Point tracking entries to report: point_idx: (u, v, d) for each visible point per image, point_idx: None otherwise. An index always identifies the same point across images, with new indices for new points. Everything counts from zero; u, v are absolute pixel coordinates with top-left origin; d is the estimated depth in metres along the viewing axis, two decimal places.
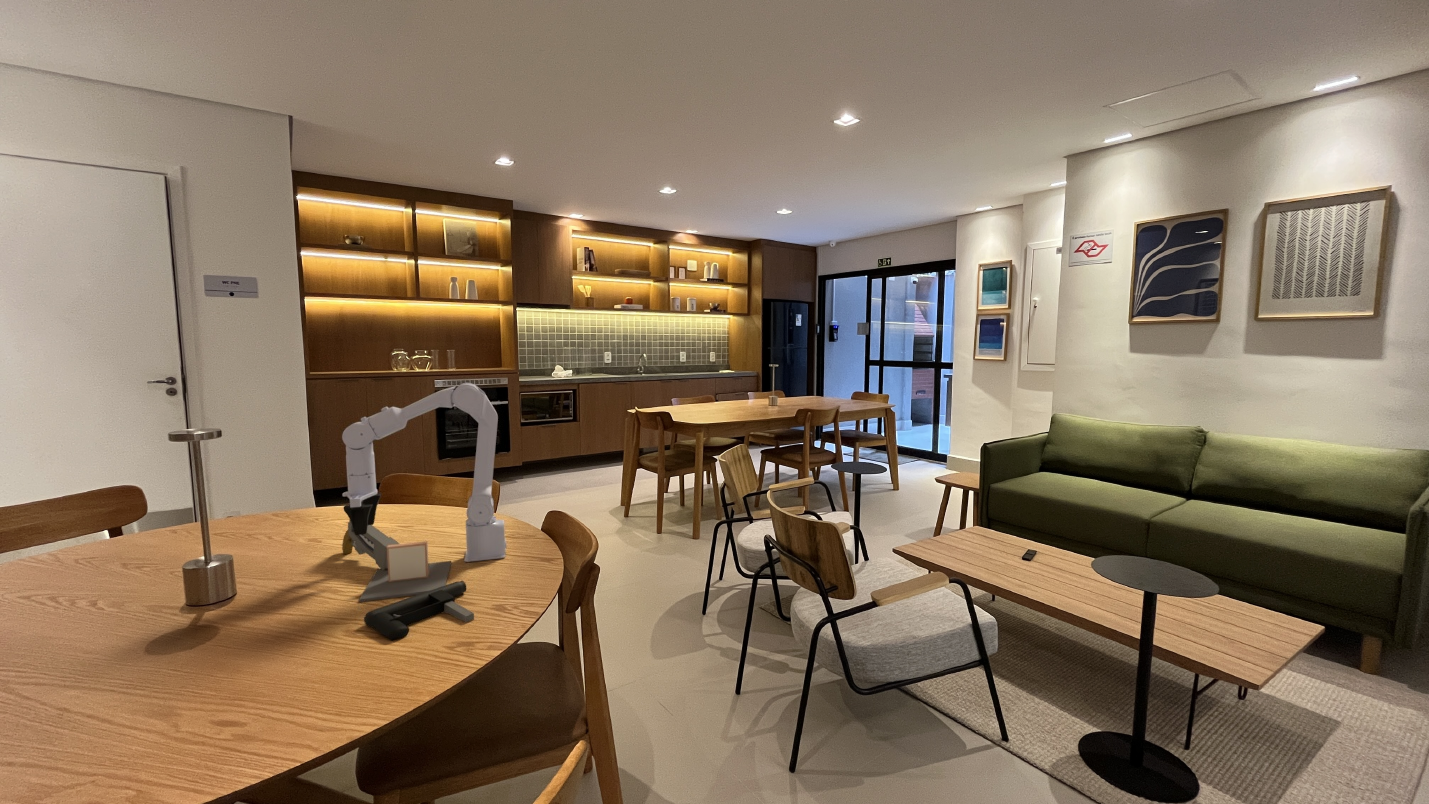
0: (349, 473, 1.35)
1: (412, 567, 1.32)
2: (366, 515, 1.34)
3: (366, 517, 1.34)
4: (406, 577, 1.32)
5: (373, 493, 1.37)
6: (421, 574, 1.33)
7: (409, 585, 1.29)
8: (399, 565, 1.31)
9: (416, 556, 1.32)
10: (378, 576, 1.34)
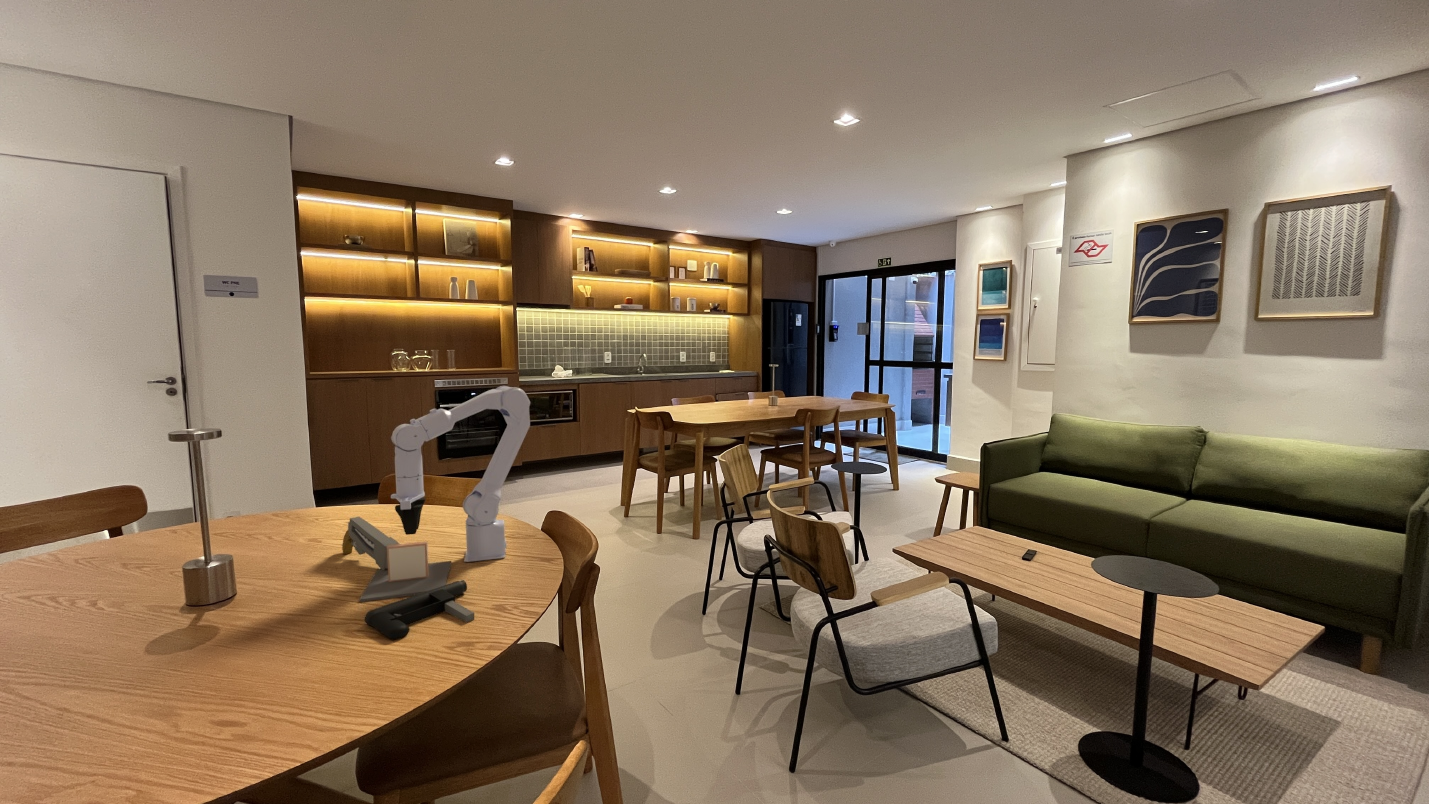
0: (401, 475, 1.34)
1: (412, 567, 1.32)
2: (416, 515, 1.36)
3: (416, 517, 1.36)
4: (406, 577, 1.32)
5: (421, 495, 1.37)
6: (421, 574, 1.33)
7: (409, 585, 1.29)
8: (399, 565, 1.31)
9: (416, 556, 1.32)
10: (378, 576, 1.34)
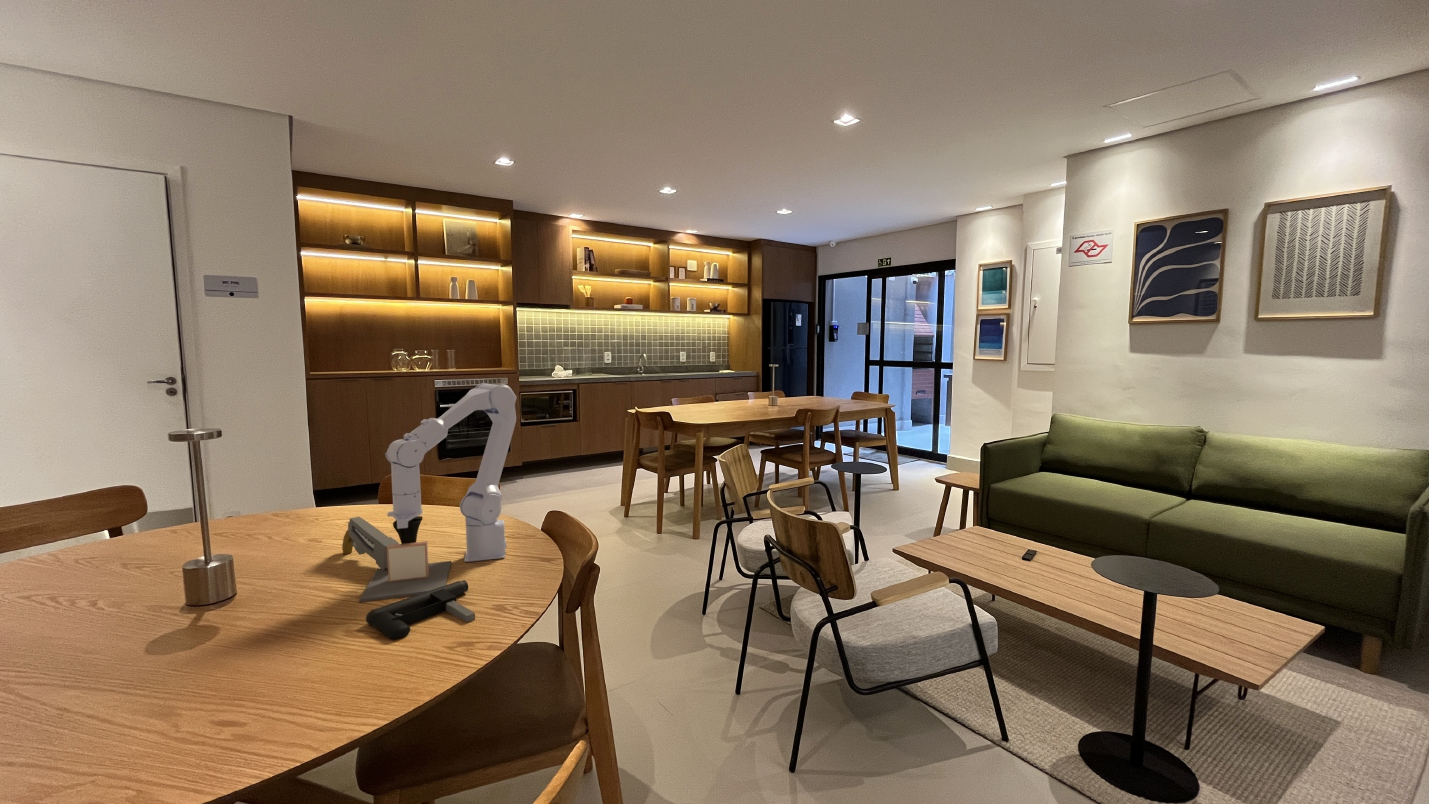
0: (401, 493, 1.30)
1: (412, 567, 1.32)
2: (415, 531, 1.33)
3: (415, 533, 1.33)
4: (406, 577, 1.32)
5: (419, 513, 1.33)
6: (421, 574, 1.33)
7: (409, 585, 1.29)
8: (399, 565, 1.31)
9: (416, 556, 1.32)
10: (378, 576, 1.34)
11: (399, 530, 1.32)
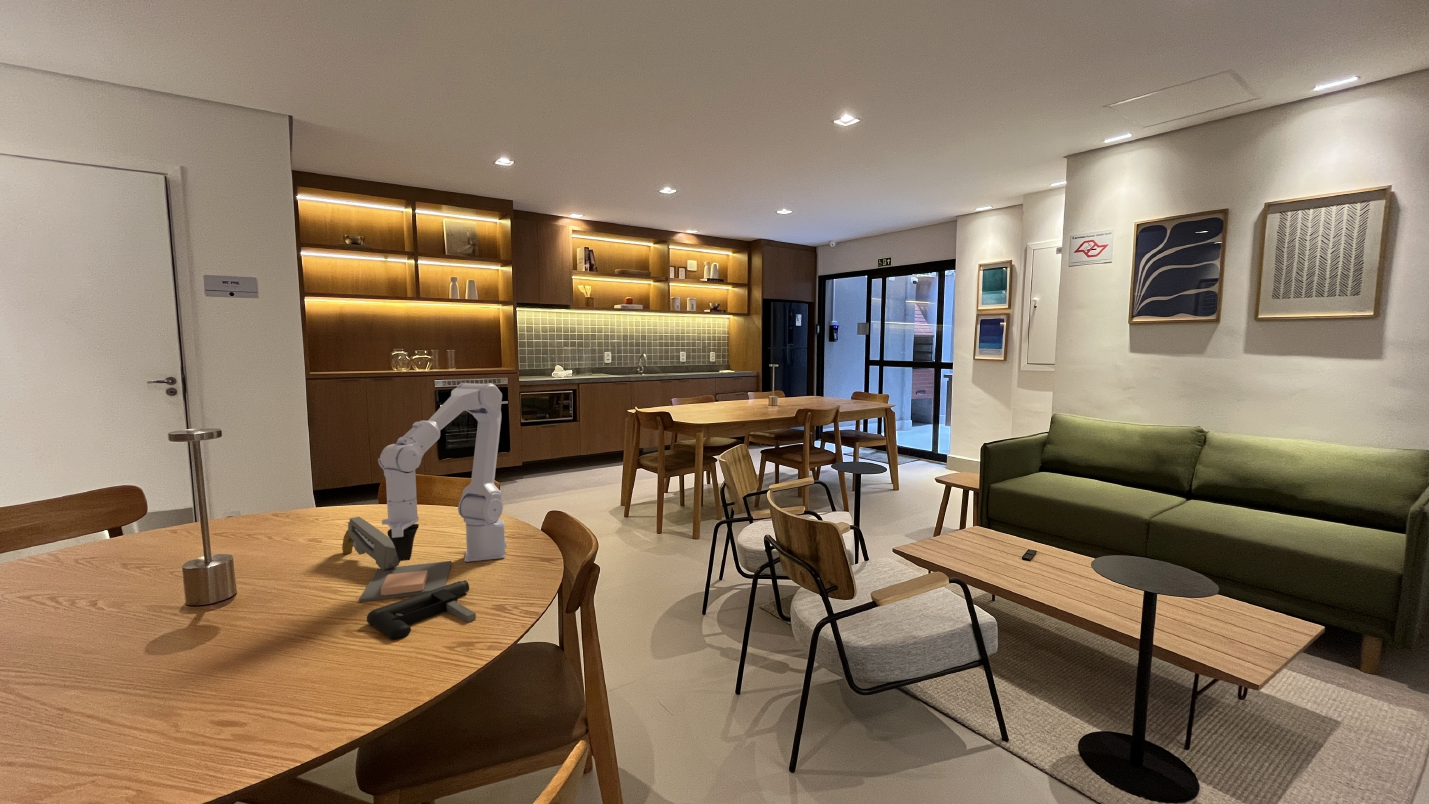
0: (399, 499, 1.25)
1: None
2: (411, 540, 1.27)
3: (411, 542, 1.27)
4: None
5: (415, 521, 1.27)
6: None
7: None
8: None
9: None
10: (378, 576, 1.34)
11: (394, 539, 1.26)
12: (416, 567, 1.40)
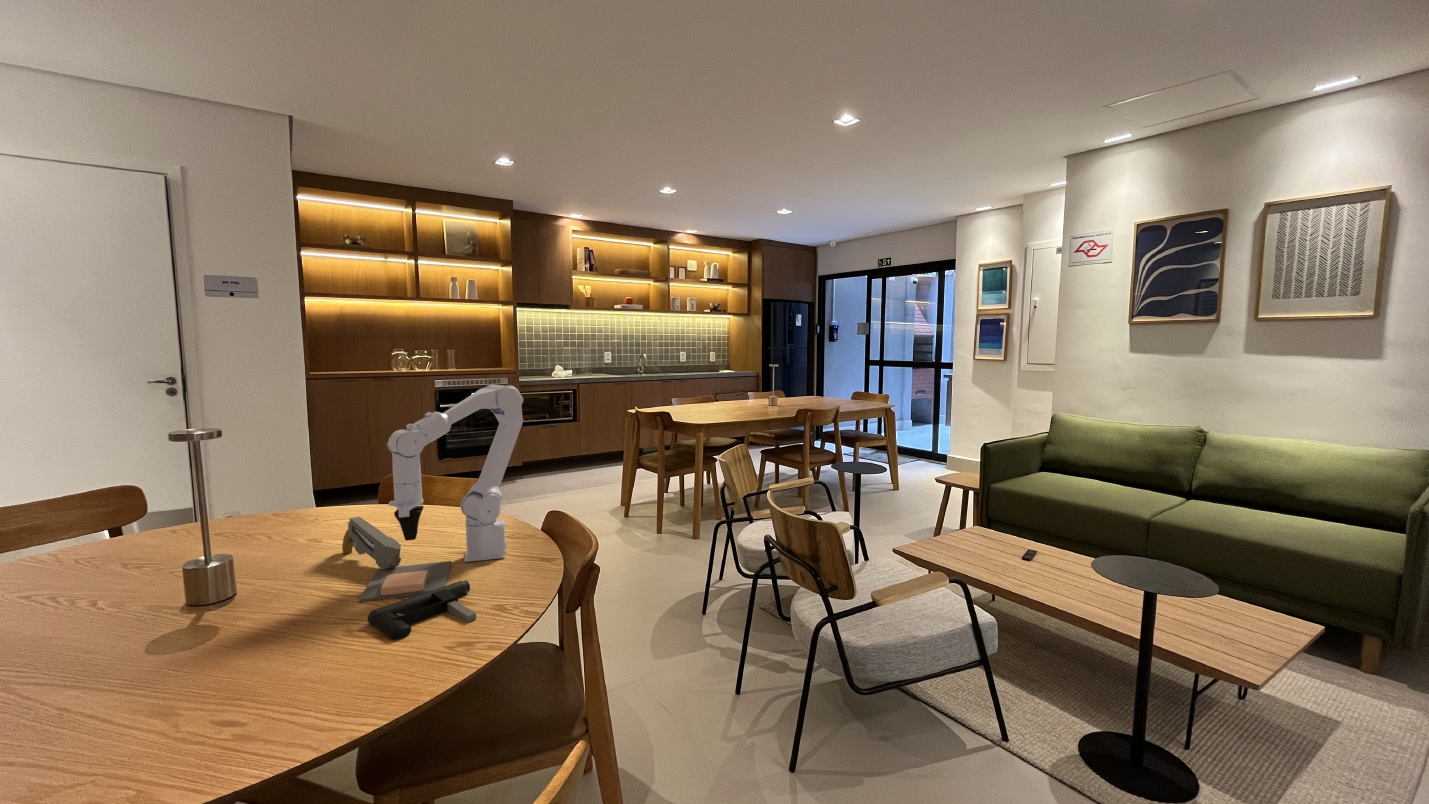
0: (401, 482, 1.32)
1: None
2: (416, 521, 1.34)
3: (416, 523, 1.35)
4: None
5: (420, 502, 1.34)
6: None
7: None
8: None
9: None
10: (378, 576, 1.34)
11: (400, 519, 1.33)
12: (416, 567, 1.40)
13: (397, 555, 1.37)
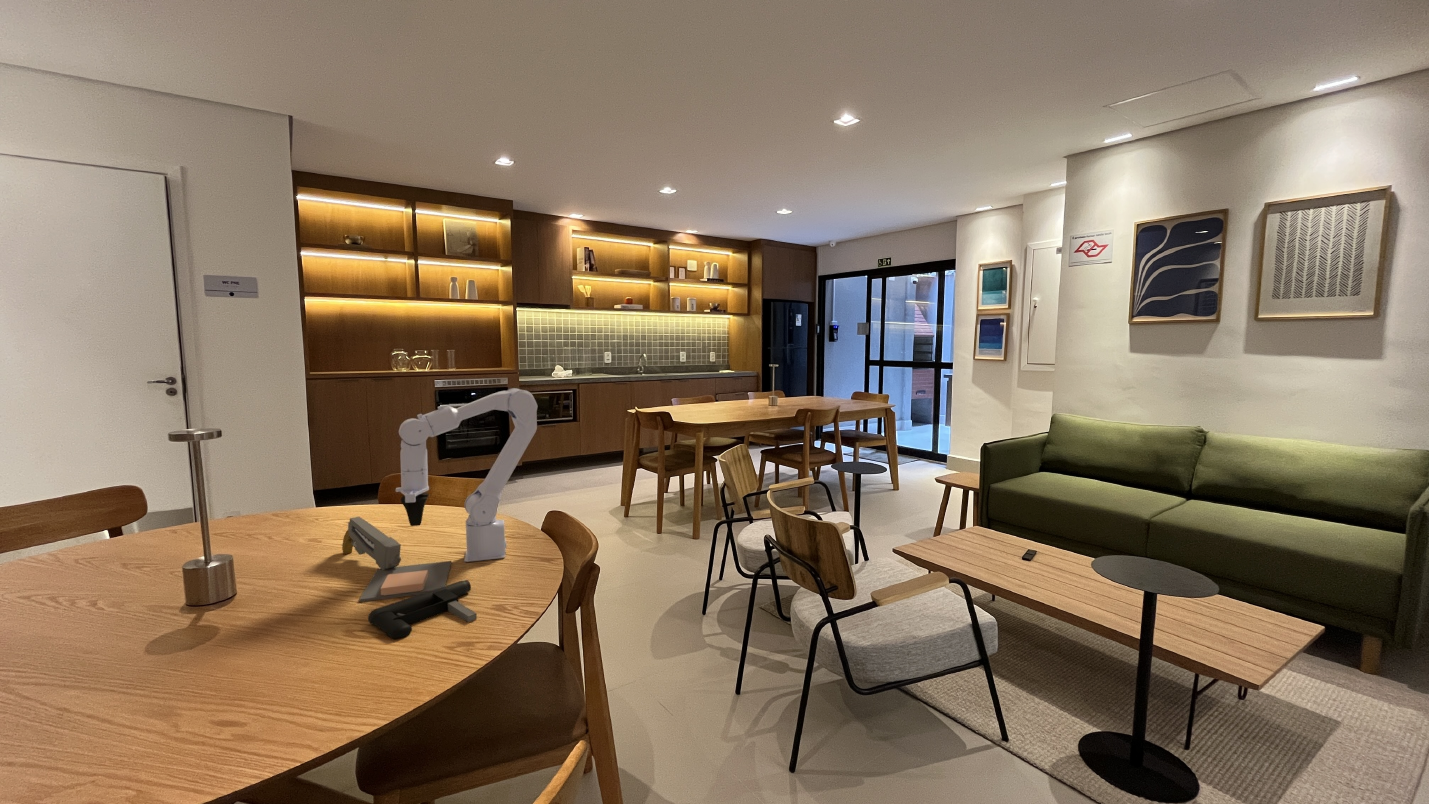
0: (405, 469, 1.37)
1: None
2: (421, 507, 1.39)
3: (421, 509, 1.39)
4: None
5: (425, 489, 1.39)
6: None
7: None
8: None
9: None
10: (378, 576, 1.34)
11: (406, 505, 1.38)
12: (416, 567, 1.40)
13: (397, 555, 1.37)
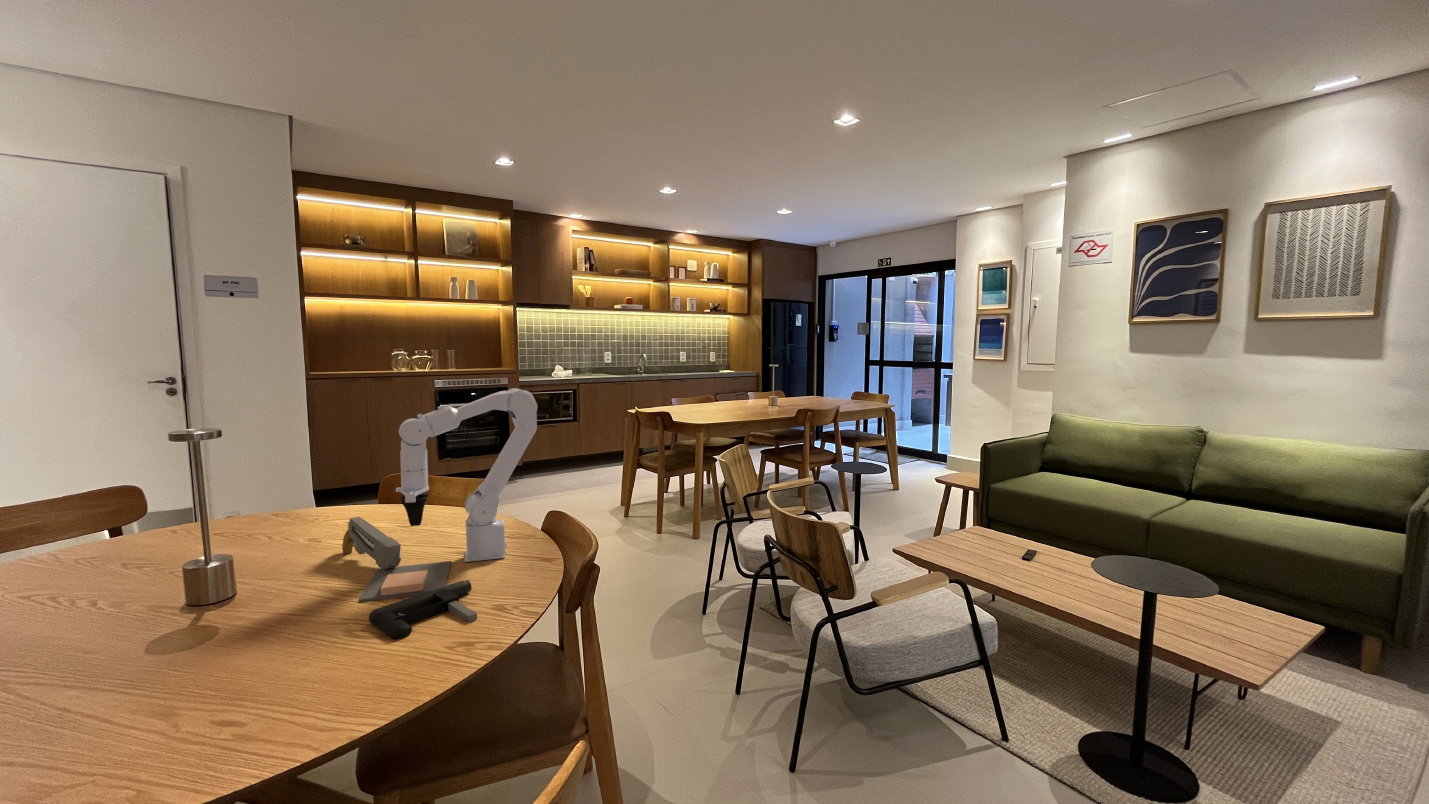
0: (405, 469, 1.37)
1: None
2: (421, 507, 1.39)
3: (421, 509, 1.39)
4: None
5: (425, 489, 1.39)
6: None
7: None
8: None
9: None
10: (378, 576, 1.34)
11: (406, 505, 1.38)
12: (416, 567, 1.40)
13: (397, 555, 1.37)
